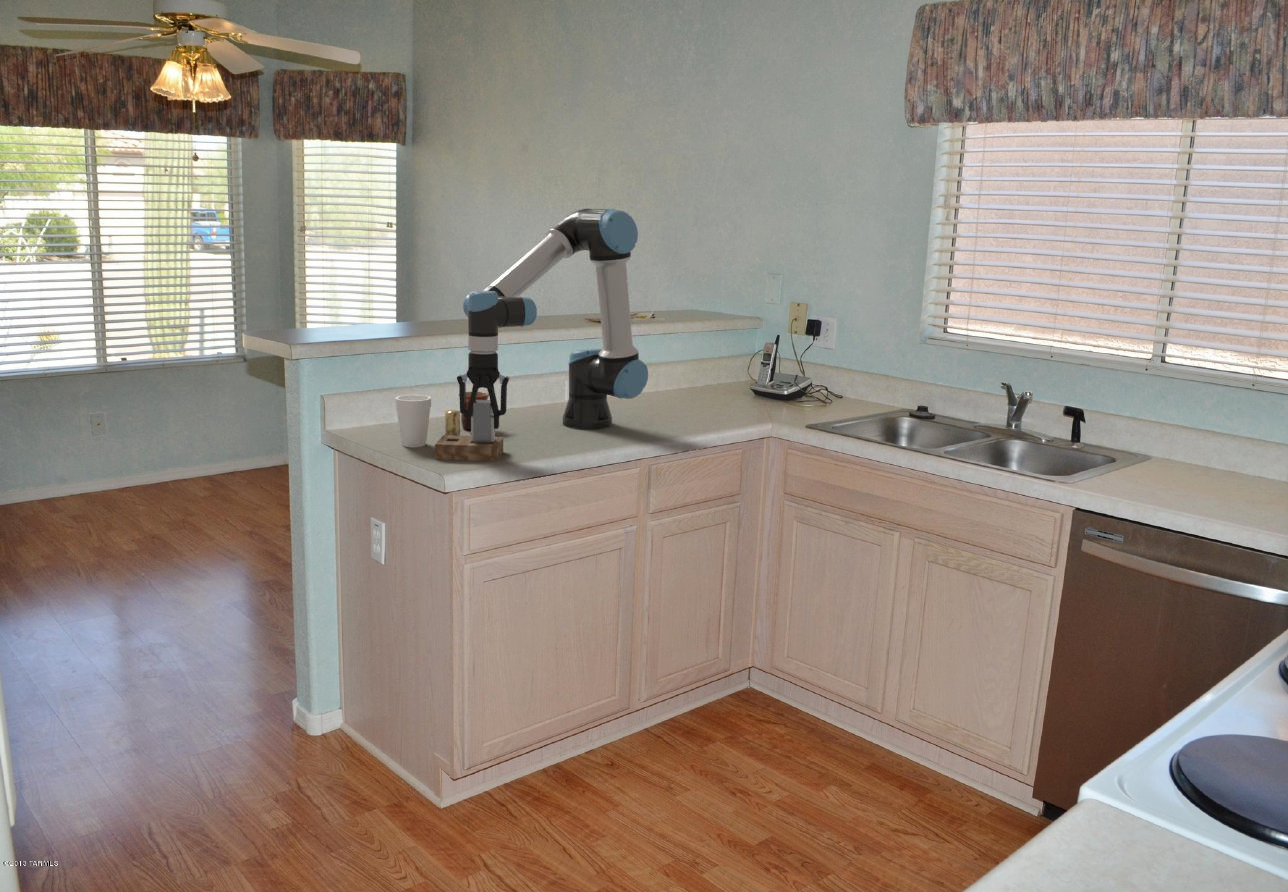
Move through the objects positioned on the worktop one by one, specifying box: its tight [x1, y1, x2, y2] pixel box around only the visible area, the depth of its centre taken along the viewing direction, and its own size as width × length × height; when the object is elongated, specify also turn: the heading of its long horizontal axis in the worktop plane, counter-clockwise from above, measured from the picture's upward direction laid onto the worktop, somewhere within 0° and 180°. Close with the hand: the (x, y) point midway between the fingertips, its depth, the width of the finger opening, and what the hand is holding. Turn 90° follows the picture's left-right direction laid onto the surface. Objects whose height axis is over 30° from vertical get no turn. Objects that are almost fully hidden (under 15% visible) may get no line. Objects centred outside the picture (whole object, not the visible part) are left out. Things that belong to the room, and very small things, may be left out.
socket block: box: [434, 434, 504, 462], centre depth 272 cm, size 16×11×4 cm
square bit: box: [473, 399, 493, 444], centre depth 270 cm, size 4×4×12 cm
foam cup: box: [394, 394, 432, 448], centre depth 281 cm, size 10×9×13 cm
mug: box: [458, 391, 490, 431], centre depth 302 cm, size 12×9×10 cm
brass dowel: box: [444, 409, 461, 436], centre depth 284 cm, size 4×4×9 cm
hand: (483, 440), depth 271 cm, fingers closed on square bit, 4 cm apart
